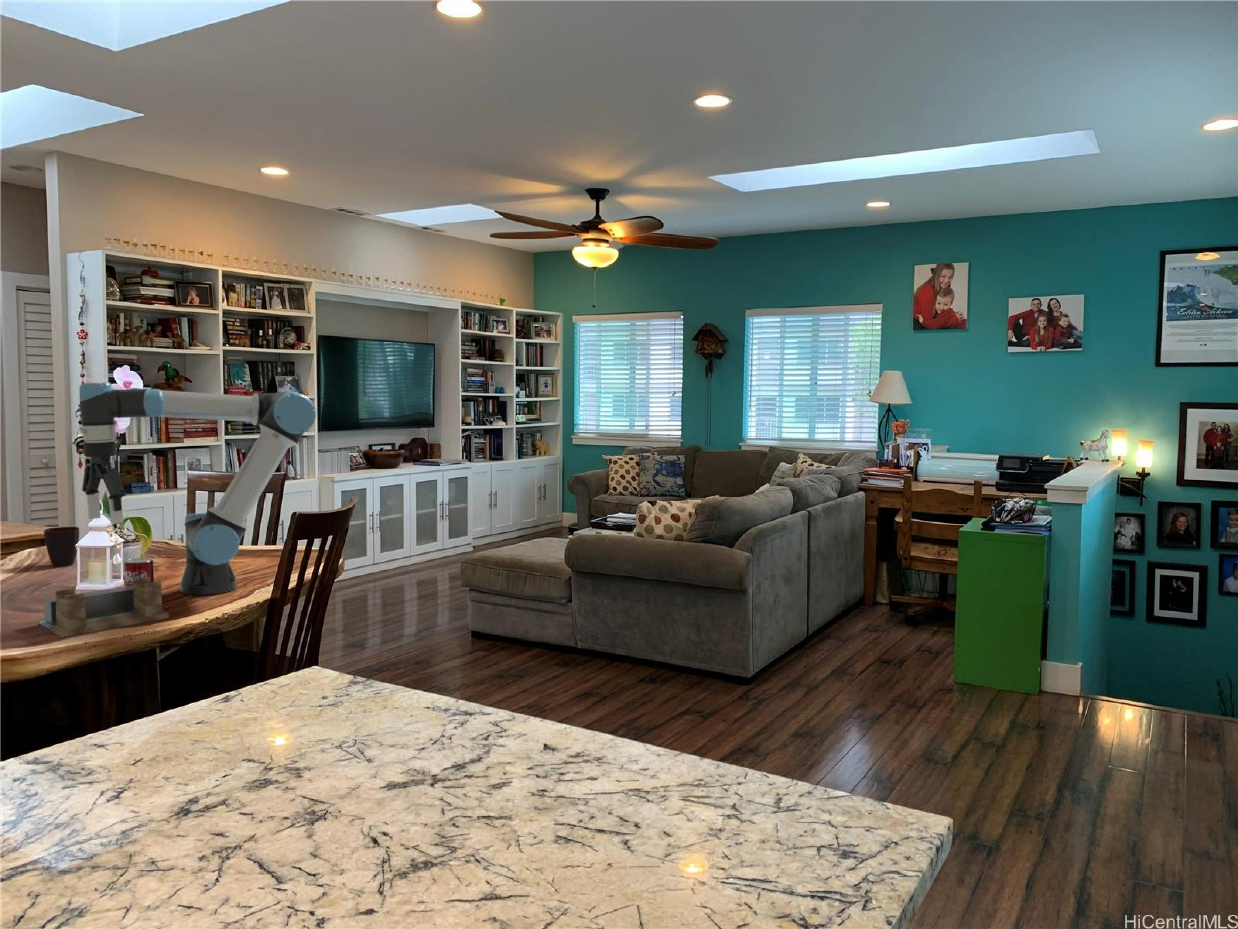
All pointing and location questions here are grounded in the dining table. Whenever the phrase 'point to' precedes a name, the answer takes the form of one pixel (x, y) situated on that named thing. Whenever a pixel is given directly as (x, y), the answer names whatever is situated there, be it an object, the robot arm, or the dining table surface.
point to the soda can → (138, 570)
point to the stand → (75, 622)
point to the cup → (62, 545)
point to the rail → (97, 603)
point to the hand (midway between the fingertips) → (105, 520)
